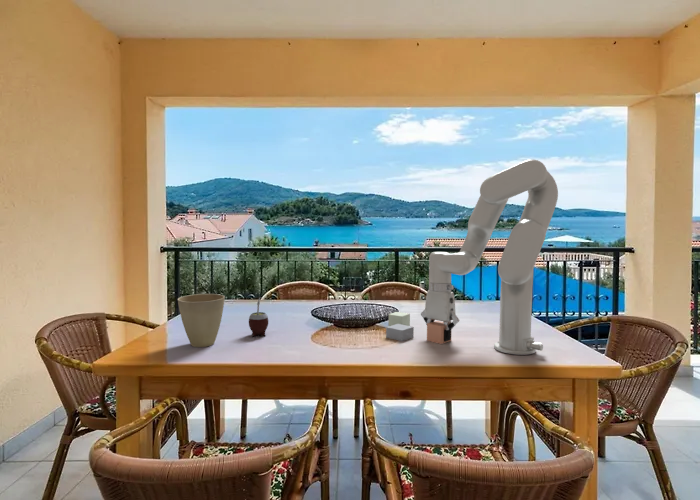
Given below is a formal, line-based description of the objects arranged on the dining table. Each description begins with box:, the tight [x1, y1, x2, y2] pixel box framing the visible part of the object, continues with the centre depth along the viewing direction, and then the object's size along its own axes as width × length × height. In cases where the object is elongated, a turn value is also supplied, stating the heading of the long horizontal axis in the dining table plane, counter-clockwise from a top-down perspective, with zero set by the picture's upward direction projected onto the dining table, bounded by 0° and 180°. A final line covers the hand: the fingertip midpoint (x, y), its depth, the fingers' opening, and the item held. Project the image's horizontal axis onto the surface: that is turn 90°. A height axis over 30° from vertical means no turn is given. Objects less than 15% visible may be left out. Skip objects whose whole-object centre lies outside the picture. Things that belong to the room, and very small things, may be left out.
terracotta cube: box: [426, 320, 453, 345], centre depth 150 cm, size 6×6×6 cm
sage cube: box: [387, 311, 411, 327], centre depth 166 cm, size 6×6×6 cm
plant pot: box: [177, 293, 225, 348], centre depth 144 cm, size 15×15×16 cm
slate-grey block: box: [385, 324, 415, 342], centre depth 154 cm, size 7×7×4 cm
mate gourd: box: [248, 296, 269, 338], centre depth 155 cm, size 8×8×15 cm
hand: (439, 338), depth 150 cm, fingers closed on terracotta cube, 6 cm apart
